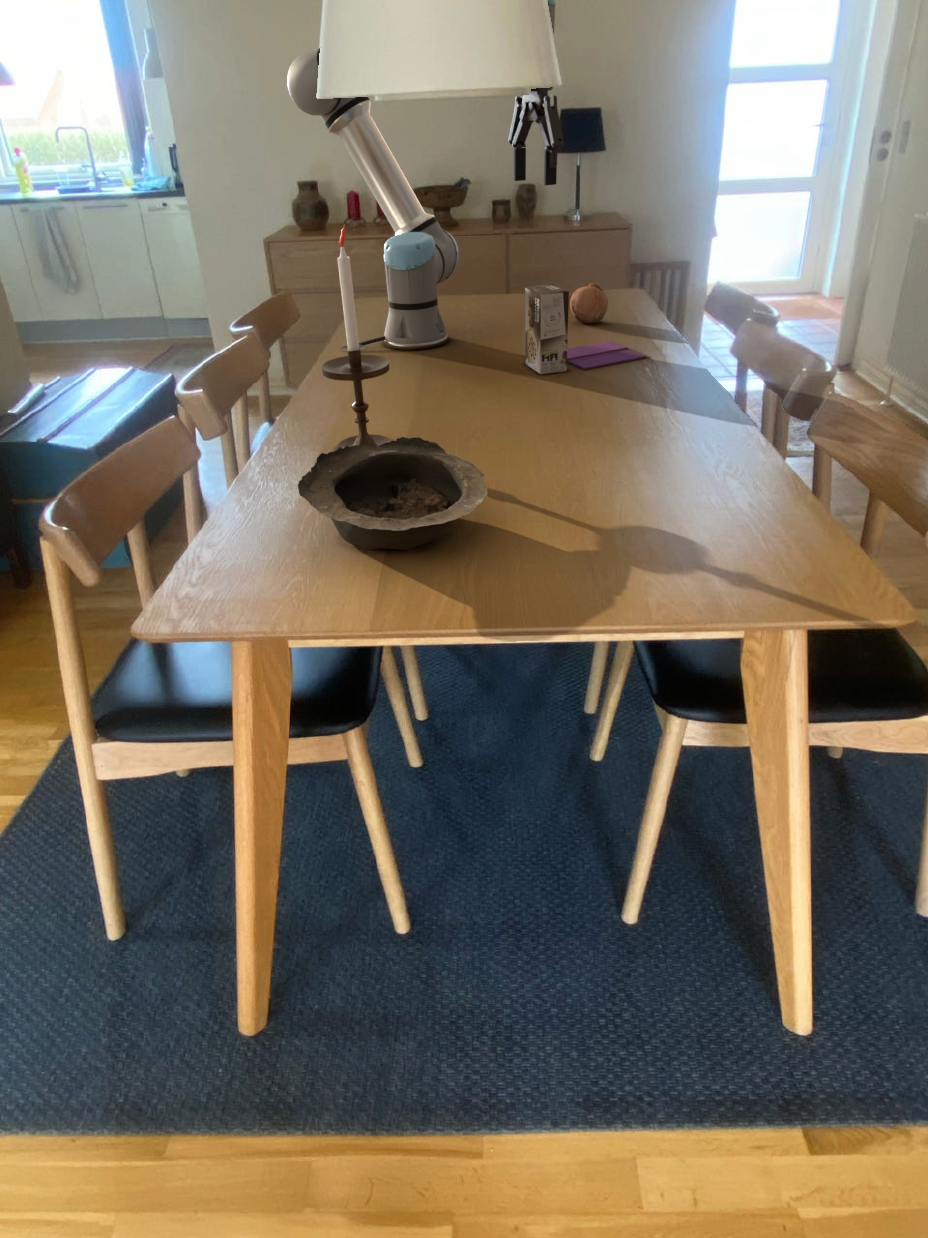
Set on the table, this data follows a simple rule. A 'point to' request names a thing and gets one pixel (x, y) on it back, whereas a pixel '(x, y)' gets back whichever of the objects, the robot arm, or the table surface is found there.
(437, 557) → the table surface
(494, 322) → the table surface
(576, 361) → the napkin
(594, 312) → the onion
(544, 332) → the coffee box
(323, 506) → the stone bowl
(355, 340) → the candlestick
